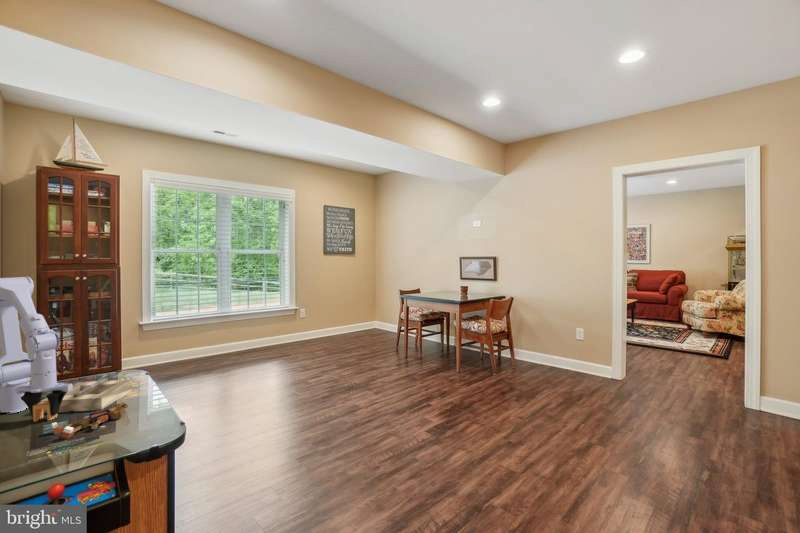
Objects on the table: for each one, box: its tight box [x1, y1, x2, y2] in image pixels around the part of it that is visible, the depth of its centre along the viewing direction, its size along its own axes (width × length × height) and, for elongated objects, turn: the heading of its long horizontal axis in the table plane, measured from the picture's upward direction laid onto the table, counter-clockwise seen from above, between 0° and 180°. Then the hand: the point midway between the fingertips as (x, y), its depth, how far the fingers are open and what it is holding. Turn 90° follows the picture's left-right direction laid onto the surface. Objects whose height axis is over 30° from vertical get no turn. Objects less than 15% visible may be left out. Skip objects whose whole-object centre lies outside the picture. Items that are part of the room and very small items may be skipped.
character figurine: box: [51, 402, 128, 440], centre depth 113 cm, size 10×18×4 cm, turn 152°
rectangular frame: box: [40, 379, 133, 414], centre depth 131 cm, size 18×18×5 cm
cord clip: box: [32, 402, 58, 423], centre depth 116 cm, size 5×3×5 cm, turn 99°
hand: (45, 414), depth 116 cm, fingers closed on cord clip, 5 cm apart
